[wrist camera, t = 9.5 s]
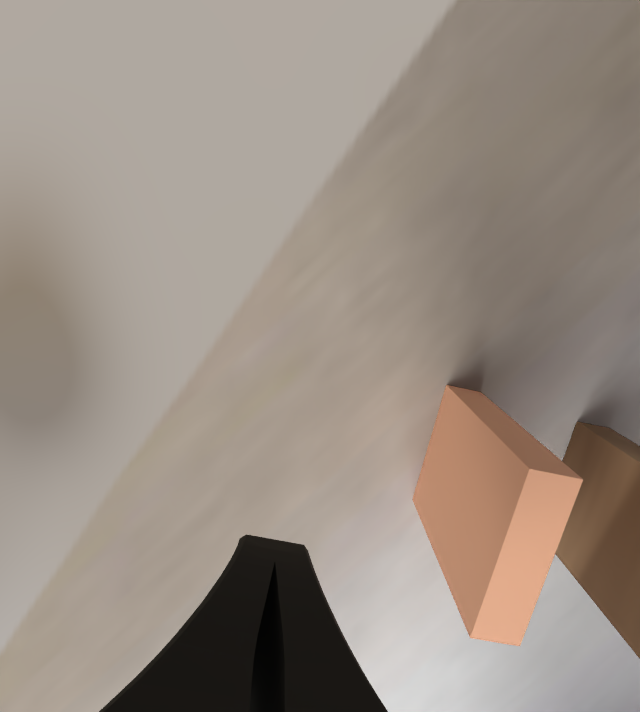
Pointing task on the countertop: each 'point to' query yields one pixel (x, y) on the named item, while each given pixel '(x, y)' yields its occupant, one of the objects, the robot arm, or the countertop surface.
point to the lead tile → (492, 512)
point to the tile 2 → (606, 525)
